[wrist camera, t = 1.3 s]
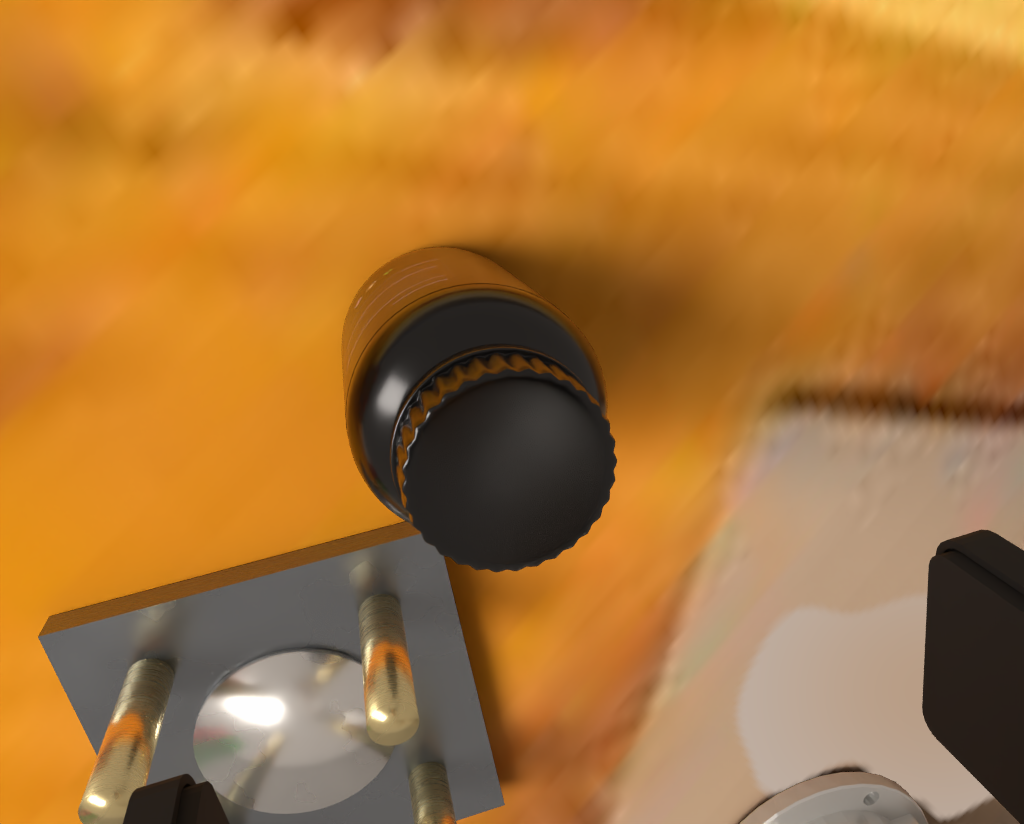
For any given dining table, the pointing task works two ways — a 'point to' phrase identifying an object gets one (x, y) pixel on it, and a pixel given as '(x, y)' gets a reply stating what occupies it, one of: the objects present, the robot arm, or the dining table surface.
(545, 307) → the supplement bottle
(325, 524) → the dining table surface
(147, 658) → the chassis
